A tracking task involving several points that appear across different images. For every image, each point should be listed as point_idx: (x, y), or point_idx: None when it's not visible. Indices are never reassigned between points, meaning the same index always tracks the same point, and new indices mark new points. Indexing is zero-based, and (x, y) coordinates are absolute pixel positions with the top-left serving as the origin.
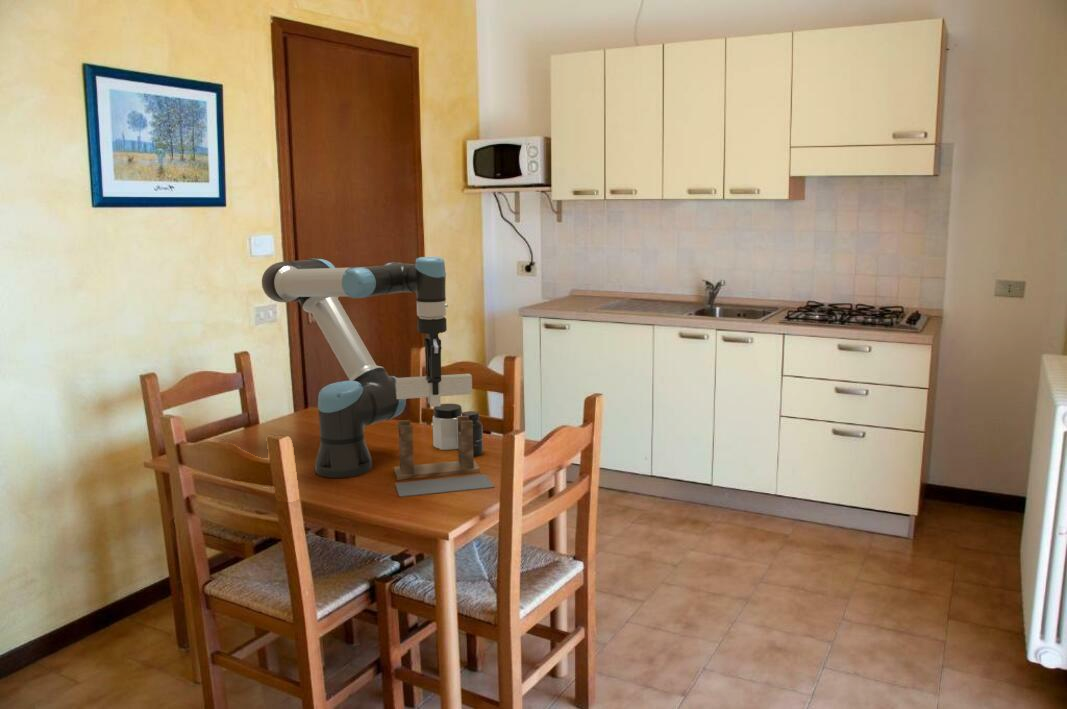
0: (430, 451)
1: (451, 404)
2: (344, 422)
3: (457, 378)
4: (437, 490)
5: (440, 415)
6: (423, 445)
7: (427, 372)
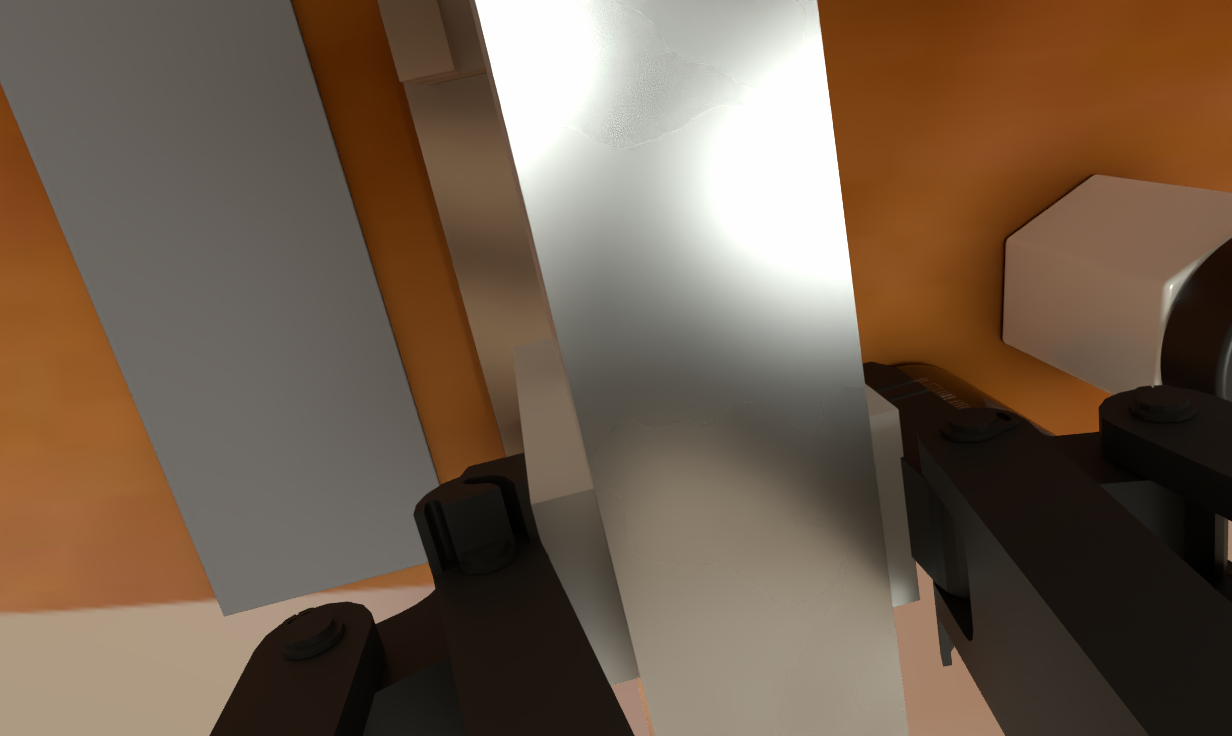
0: (996, 159)
1: None
2: None
3: None
4: (123, 279)
5: (1207, 287)
6: (1142, 97)
7: (986, 480)
